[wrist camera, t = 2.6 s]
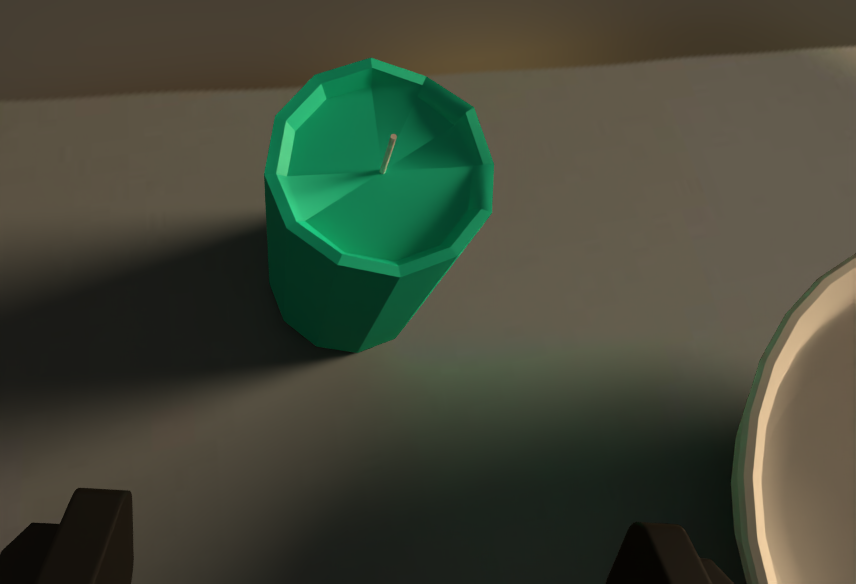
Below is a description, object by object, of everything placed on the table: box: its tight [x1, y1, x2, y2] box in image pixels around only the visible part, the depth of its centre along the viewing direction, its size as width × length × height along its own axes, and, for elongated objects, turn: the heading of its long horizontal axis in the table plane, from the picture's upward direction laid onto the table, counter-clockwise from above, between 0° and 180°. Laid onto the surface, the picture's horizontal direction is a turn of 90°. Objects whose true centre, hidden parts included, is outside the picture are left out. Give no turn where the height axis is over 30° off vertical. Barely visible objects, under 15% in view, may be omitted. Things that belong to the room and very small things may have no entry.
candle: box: [264, 58, 494, 353], centre depth 23 cm, size 6×6×12 cm
